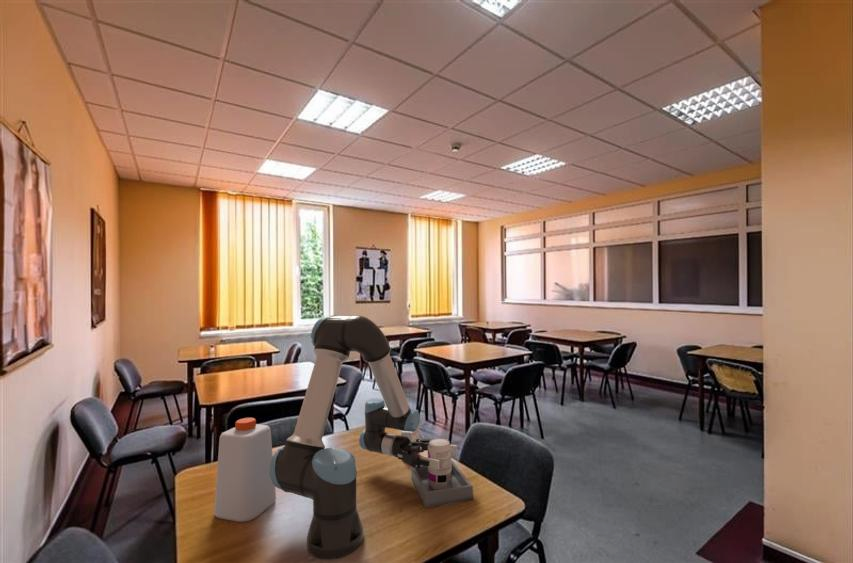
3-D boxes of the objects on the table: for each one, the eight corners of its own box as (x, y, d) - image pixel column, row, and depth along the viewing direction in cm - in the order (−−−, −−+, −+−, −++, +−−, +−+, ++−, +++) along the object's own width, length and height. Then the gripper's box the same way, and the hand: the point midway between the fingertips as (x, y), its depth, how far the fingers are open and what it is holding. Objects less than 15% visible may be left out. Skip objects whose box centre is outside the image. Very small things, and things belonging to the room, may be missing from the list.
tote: (472, 499, 125) (472, 485, 125) (425, 508, 121) (425, 493, 121) (452, 472, 145) (452, 460, 145) (411, 478, 140) (411, 466, 140)
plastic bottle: (281, 499, 128) (280, 414, 129) (248, 526, 113) (247, 430, 114) (244, 493, 132) (243, 411, 133) (207, 518, 118) (207, 426, 119)
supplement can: (425, 490, 130) (424, 445, 131) (432, 478, 138) (431, 436, 138) (448, 493, 128) (447, 447, 128) (454, 481, 136) (453, 438, 136)
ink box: (409, 452, 164) (408, 424, 164) (420, 454, 162) (419, 425, 162) (401, 461, 156) (400, 431, 156) (412, 462, 154) (412, 432, 154)
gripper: (414, 444, 153) (463, 454, 142) (376, 469, 131) (430, 484, 121) (414, 425, 153) (462, 434, 143) (376, 447, 131) (430, 459, 121)
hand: (448, 457), depth 132 cm, fingers open, 13 cm apart
